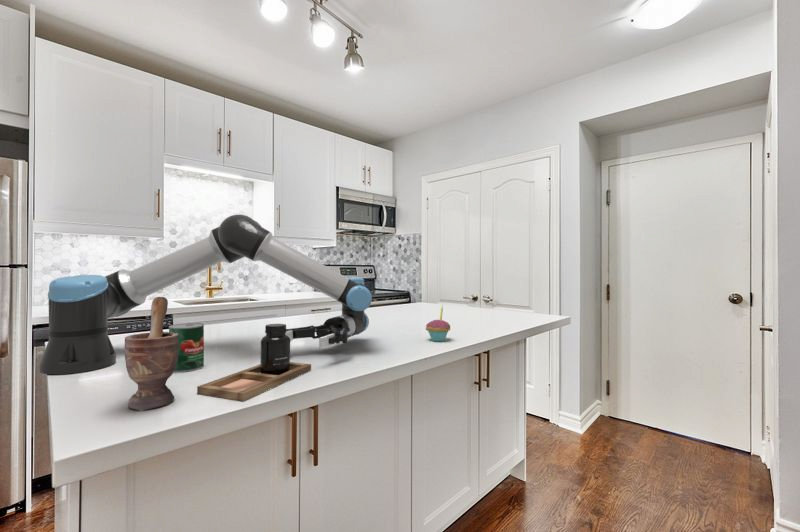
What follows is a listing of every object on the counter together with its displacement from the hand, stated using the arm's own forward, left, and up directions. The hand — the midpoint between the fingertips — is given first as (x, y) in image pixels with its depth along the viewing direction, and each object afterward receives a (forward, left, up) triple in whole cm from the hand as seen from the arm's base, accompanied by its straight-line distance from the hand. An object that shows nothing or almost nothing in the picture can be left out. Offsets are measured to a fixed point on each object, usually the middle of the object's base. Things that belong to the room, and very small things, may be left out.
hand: (297, 341), depth 100 cm
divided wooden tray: (0, -14, -6) cm, 15 cm away
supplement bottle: (0, -9, -7) cm, 11 cm away
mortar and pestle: (-11, -32, -7) cm, 34 cm away
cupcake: (+26, +45, -7) cm, 52 cm away
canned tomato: (-25, -12, -7) cm, 29 cm away
